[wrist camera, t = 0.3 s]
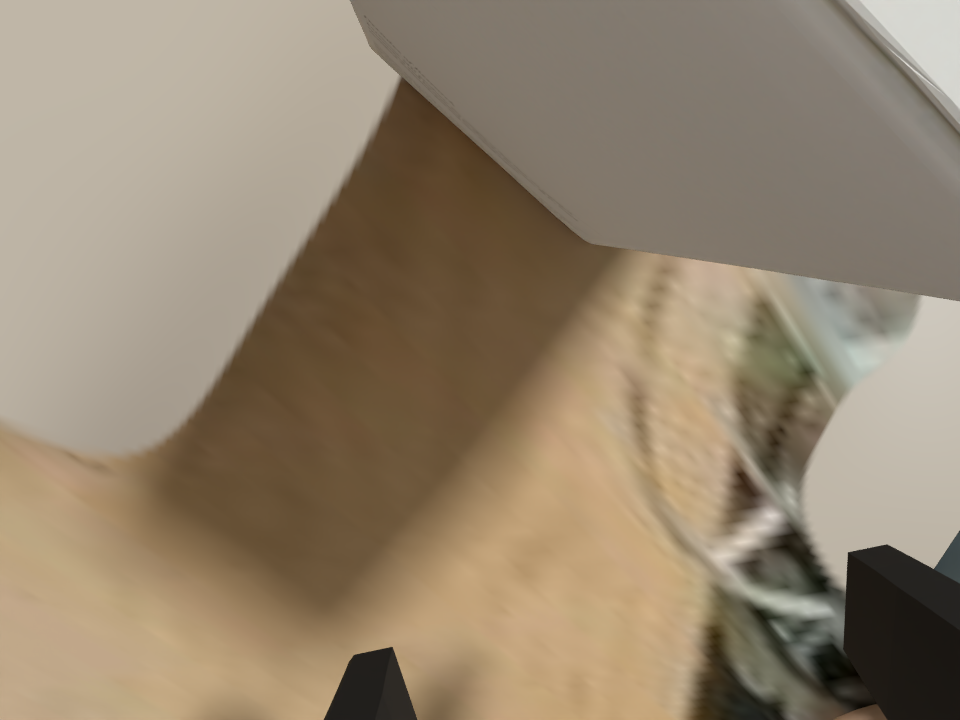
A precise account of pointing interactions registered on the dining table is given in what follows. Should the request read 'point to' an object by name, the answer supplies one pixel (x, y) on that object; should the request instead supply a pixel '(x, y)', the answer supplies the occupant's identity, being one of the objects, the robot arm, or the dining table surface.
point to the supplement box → (712, 123)
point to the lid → (864, 714)
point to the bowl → (951, 561)
